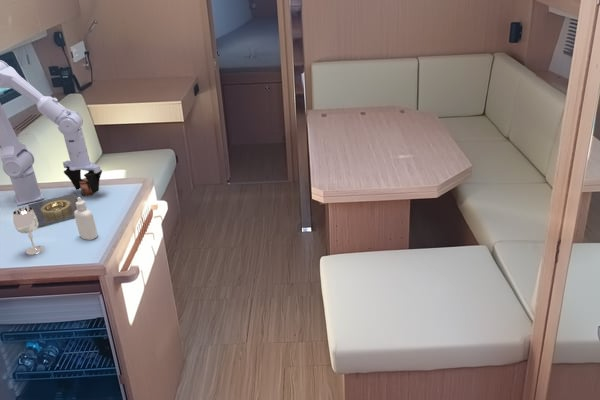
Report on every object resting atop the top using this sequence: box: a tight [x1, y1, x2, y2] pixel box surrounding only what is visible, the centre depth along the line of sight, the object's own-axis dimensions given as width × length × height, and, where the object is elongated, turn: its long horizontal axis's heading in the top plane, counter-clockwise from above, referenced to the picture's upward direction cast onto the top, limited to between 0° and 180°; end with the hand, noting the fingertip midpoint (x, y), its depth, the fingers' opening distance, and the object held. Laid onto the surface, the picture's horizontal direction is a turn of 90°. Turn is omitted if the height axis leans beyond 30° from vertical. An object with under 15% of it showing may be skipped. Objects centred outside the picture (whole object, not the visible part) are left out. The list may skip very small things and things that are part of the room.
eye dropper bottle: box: [74, 196, 99, 241], centre depth 153 cm, size 4×6×12 cm
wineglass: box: [12, 206, 45, 256], centre depth 148 cm, size 6×6×12 cm
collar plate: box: [27, 192, 78, 229], centre depth 172 cm, size 18×14×2 cm
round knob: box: [79, 177, 95, 197], centre depth 182 cm, size 4×4×5 cm
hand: (87, 190), depth 182 cm, fingers open, 7 cm apart
